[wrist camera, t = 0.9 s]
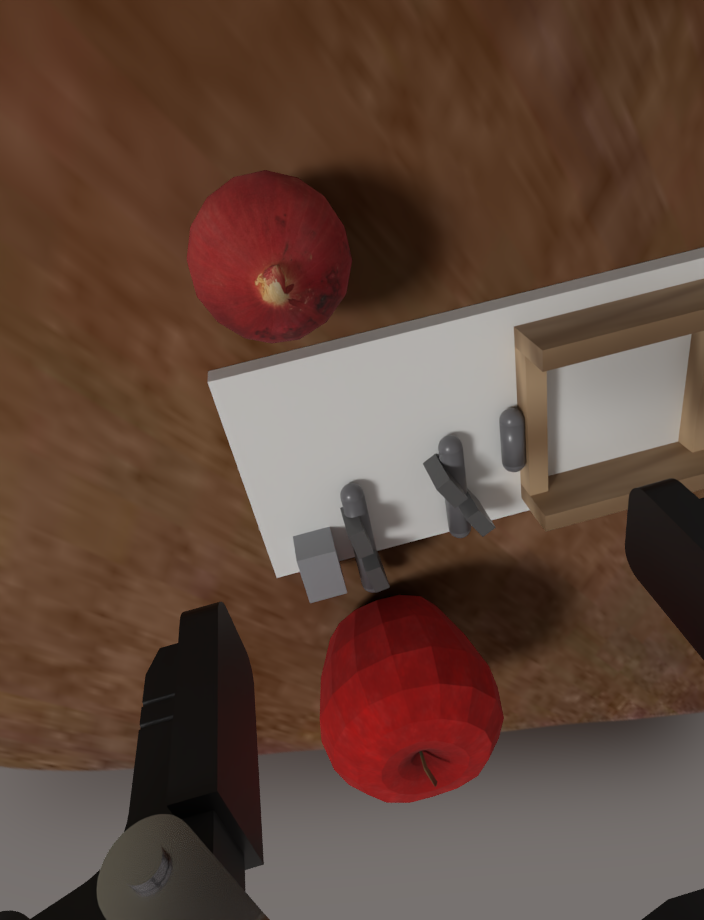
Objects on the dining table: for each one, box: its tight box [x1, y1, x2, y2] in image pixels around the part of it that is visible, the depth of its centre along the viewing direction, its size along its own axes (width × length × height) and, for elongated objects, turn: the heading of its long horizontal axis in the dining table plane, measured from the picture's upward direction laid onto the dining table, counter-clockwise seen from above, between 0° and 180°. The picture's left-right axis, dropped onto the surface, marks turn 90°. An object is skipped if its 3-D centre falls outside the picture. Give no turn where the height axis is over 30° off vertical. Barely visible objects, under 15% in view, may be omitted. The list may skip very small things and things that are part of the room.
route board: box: [208, 247, 704, 603], centre depth 31 cm, size 14×24×4 cm, turn 101°
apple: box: [320, 595, 504, 803], centre depth 34 cm, size 10×10×11 cm
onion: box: [187, 170, 352, 343], centre depth 22 cm, size 6×6×8 cm
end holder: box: [514, 279, 704, 531], centre depth 30 cm, size 10×10×3 cm
